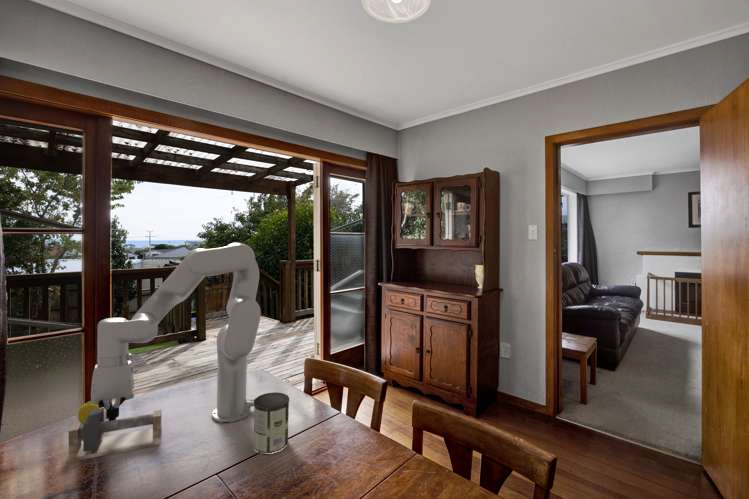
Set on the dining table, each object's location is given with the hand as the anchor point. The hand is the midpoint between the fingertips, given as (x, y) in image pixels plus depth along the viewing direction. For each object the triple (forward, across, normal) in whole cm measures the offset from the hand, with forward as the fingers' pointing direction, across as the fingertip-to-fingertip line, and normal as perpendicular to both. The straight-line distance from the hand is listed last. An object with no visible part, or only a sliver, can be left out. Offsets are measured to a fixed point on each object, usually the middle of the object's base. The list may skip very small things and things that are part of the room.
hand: (112, 419), depth 110 cm
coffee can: (+6, -43, +21) cm, 48 cm away
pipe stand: (+6, -2, +3) cm, 7 cm away
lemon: (+7, +8, -12) cm, 16 cm away
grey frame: (+4, +4, +3) cm, 7 cm away
